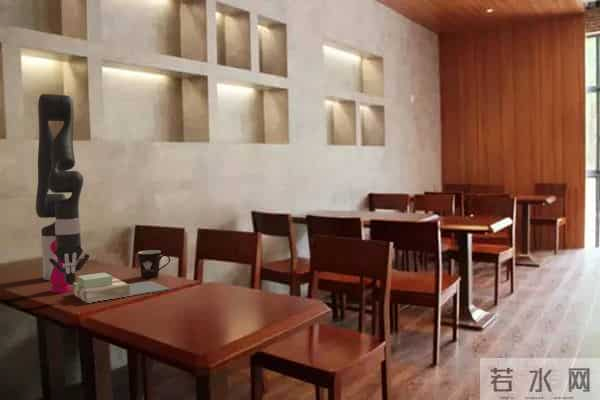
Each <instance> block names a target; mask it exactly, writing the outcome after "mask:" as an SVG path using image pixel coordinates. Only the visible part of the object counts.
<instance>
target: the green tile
mask: <svg viewBox="0 0 600 400" xmlns="http://www.w3.org/2000/svg"><path fill="white" fill-rule="evenodd" d="M112 277H113V275H111V274H108V273H107V272H97V273H89V274H85V275H78V276H77V282H78V285H79V286H81V287H82V288H84V289H89V288H96V287H102V286H109V285H112Z"/></svg>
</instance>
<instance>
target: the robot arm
mask: <svg viewBox="0 0 600 400" xmlns="http://www.w3.org/2000/svg"><path fill="white" fill-rule="evenodd" d="M37 104H38V106H37V107H38V109H37V112H38V113H37V115H38V149H37V150H38V151H37V187H36V198H35V213H36V215H37V217H38V218H41V219H49V218H55V221H54V222H53V223H51V224H48V225H46V226H43V227H42V228H41V232H40V233H41V251H42V253H41V254H42V272H43V273H42V274H43V276H42V277H43V280H45V281H50V275H51V272H52V270H53V266H54V267H55V268H56V269H57V270H58V271H60V272H61V273H65V282H66V283H67V284H68V285H71V286H72V285H73V283H76V273H77V272H79V271H81V269H82V268H83V267H84V265H85V264H86V262H87V261H88V260H89V258H90V254H88V253H85V252H84V250H83V248H82V241H81V237H82V236H81V224H80V215H79V214H80V213H79V204H80V203H79V202H80V196H81V192H82V189H83V184H84V177H83V175H82V173H81V172H79V171H77V170H71V169H73V168H74V167H75V165H76V159H75V151H74V116H75V115H74V103H73V100H72V98H71V96H70V95H65V94H52V93H51V94H50V93H42V94H40V95H39V98H38V103H37ZM50 121H51V122H63V124H62V125H63V126H62V127H61V128H60V130H59V131H58V133H57V134H56V135H55V134H54V132H53V131H52V129H51V126H50V123H49V122H50ZM49 190H50V192H52V193H49ZM65 193H71V195H70V196H69V197H66V194H65ZM55 240H56V251H55V255H52V254H53V252H52V251H51V249H50V245H51V243H52V242H53V241H55ZM57 258H58V259H59V260H60V261H61V262H63V267H64V268H62V267H61V266H60V265H59V264H58V263H57ZM79 258H80V260H79ZM78 260H79V261H78ZM77 261H78V262H77Z"/></svg>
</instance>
